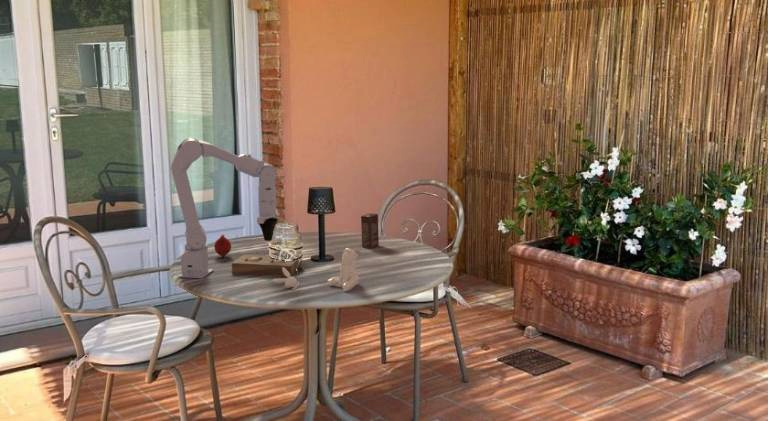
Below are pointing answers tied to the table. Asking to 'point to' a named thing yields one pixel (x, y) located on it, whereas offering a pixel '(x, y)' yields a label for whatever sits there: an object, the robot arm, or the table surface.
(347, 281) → the white creature statuette
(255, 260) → the peg
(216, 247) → the onion
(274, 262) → the peg
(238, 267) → the walnut block
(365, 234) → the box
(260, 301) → the table surface
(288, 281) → the rabbit figurine
